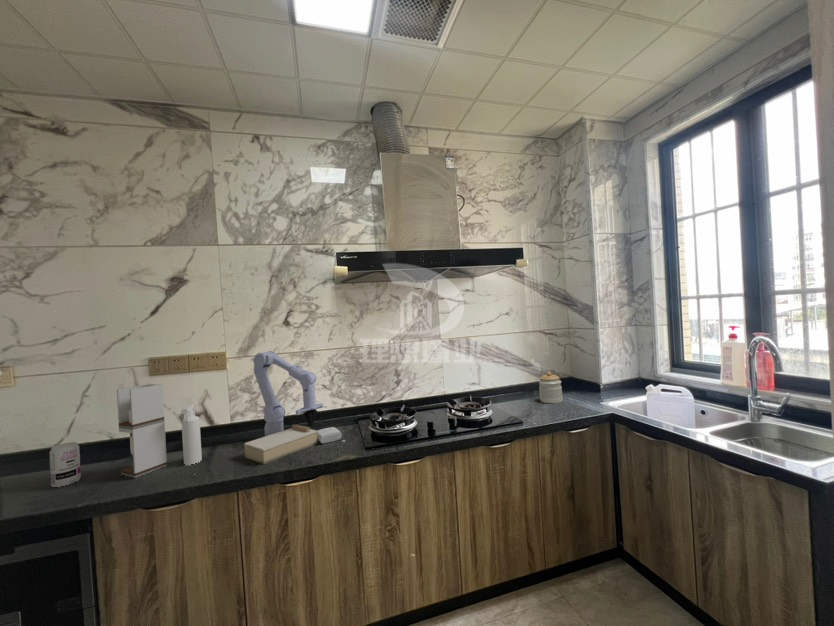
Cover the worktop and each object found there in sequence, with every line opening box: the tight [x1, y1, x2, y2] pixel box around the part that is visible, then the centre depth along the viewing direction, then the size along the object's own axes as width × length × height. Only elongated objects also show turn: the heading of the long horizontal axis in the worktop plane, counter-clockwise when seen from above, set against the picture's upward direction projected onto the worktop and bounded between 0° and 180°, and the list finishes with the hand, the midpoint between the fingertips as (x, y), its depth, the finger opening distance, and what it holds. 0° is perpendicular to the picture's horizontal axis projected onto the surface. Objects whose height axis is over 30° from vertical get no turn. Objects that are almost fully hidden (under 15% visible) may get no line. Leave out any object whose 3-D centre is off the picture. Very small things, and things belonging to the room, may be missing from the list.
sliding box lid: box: [243, 424, 318, 451], centre depth 156 cm, size 16×26×3 cm, turn 143°
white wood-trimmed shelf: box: [116, 383, 168, 479], centre depth 144 cm, size 11×11×35 cm
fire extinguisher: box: [181, 403, 203, 466], centre depth 150 cm, size 7×12×25 cm, turn 13°
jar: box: [538, 371, 564, 404], centre depth 207 cm, size 13×13×18 cm
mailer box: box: [244, 433, 318, 465], centre depth 156 cm, size 16×26×5 cm, turn 143°
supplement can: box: [48, 441, 82, 488], centre depth 136 cm, size 8×8×15 cm
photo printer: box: [316, 426, 343, 444], centre depth 167 cm, size 10×4×12 cm
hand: (311, 425), depth 169 cm, fingers closed
